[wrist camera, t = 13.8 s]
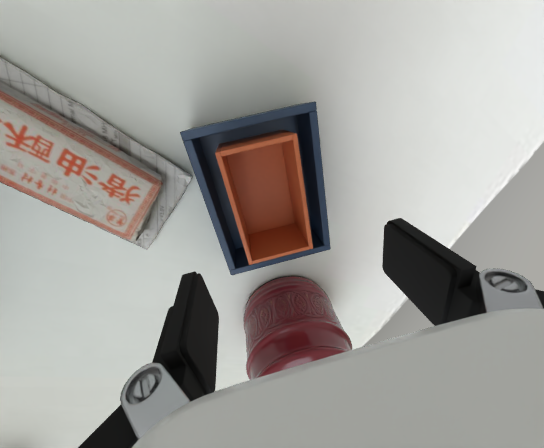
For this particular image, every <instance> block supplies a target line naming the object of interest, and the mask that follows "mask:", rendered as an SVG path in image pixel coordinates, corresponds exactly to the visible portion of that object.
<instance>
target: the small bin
mask: <svg viewBox="0 0 544 448" xmlns="http://www.w3.org/2000/svg"><path fill="white" fill-rule="evenodd" d="M215 154H216V158H217V161H218V164H219V168H220V171H221V174H222V177H223V181H224V184H225V187H226V190H227V194H228V197H229V200H230V204H231V207H232V210H233V213H234V217H235V220H236V223H237V227H238V230H239V233H240V236H241V240H242V243H243V246H244V250H245V253H246V256H247V259H248V263H249V265H251V264H255V263H259V262H263V261H267V260H271V259H274V258H278V257H282V256H286V255H290V254H293V253H297V252H301V251H305V250H309V249H313V244H312V237H311V230H310V223H309V216H308V209H307V201H306V194H305V187H304V180H303V173H302V166H301V159H300V152H299V145H298V137H297V134H296V133H292V132H289V131H286V130H277V131H273V132H269V133H264V134H260V135H256V136H251V137H247V138H243V139H238V140H234V141H230V142H225V143H221V144H219V145H218V148H217V150H216V152H215Z"/></svg>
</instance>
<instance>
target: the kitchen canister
mask: <svg viewBox="0 0 544 448" xmlns="http://www.w3.org/2000/svg"><path fill="white" fill-rule="evenodd" d="M244 330H245V334H246V346H247V364H246V370H247V375H248V377H249V379H250V380H252V379H255V378H259V377H262V376H265V375H269V374H272V373H275V372H279V371H282V370H285V369H289V368H292V367H295V366H299V365H302V364H306V363H309V362H312V361H316V360H319V359H323V358H326V357H329V356H333V355H336V354H340V353H343V352H347V351H350V350H352V344H351V340H350V338H349V336H348V335H347V334H346V332H345V331H344V330H343V328H342V326H341V324H340V322H339V320H338V318H337V316H336V314H335V312H334V310H333V308H332V304H331V302H330V300H329V298H328V296H327V295H326V293H325V292H324V291H323V290H322V289H321V288H320V287H319V286H318V285H317V284H316V283H315V282H313V281H311V280H309V279H306V278H303V277H294V276H291V277H282V278H278V279H275V280H272V281H270V282H268V283H266V284H264V285H263V286H261V287H260V288H259V289H257V290H256V291H255V292H254V293H253V295H252V296H251V297H250V299H249V300H248V302H247V305H246V309H245V314H244Z"/></svg>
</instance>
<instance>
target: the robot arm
mask: <svg viewBox="0 0 544 448" xmlns="http://www.w3.org/2000/svg"><path fill="white" fill-rule="evenodd" d="M383 270H384V272H385V274H386V275H387V276H388V277H389V278H390V279H391V280H392V281H393V282H394V283H395V284H396V285H397V286H398V287H399V288H400V290H401V291H402V292H403V293H404V294H405V295H406V296H407V297H408V298H409V299H410V300H411V301H412V302H413V303H414V304H415V305H416V306H417V307H418V309H419V310H420V311H421V312H422V313H423V314H424V315H425V316H426V317H427V318H428V319H429V320H430V321H431V322H432V323H433V324H434V325H435V326H434V327H430V328H427V329H423V330H420V331H416V332H413V333H409V334H406V335H402V336H398V337H395V338H391V339H388V340H385V341H381V342H378V343H374V344H371V345H367V346H364V347H360V348H357V349H353V350H350V351H347V352H343V353H340V354H336V355H333V356H329V357H326V358H323V359H319V360H316V361H312V362H309V363H306V364H302V365H299V366H295V367H292V368H289V369H285V370H282V371H279V372H275V373H272V374H269V375H265V376H262V377H259V378H255V379H252V380H249V381H246V382H243V383H240V384H236V385H233V386H230V387H227V388H224V389H221V390H218V391H215V383H216V363H217V344H218V324H219V316H218V312H217V309H216V307H215V305H214V303H213V300H212V298H211V296H210V294H209V291H208V289H207V287H206V285H205V282H204V280H203V278H202V276H201V274H197V273H196V272H191V273H188V274H184V275H182V278H181V281H180V285H179V288H178V292H177V295H176V299H175V303H174V306H172V307H170V308H169V310H168V313H167V316H166V319H165V323H164V326H163V329H162V333H161V336H160V339H159V342H158V346H157V349H156V352H155V356H154V359H153V362H152V363H150V364H147V365H145V366H143V367H141V368H140V369H138V370H137V371H136V372H135V373H134V374H133V375H132V376H131V377H130V378H129V379H128V381H127V382H126V384H125V385H124V387H123V390H122V392H121V397H120V401H121V405H120V406H119V407H118V408H117V409H116V410H115V411H114V412H113V413H112V414H111V415H110V416H109V417H108V418H107V419H106V420H105V421H104V422H103V423H102V424H101V425H100V426H99V427H98V428H97V429H96V430H95V431H94V432H93V433H92V434H91V435H90V436H89V437H88V438H87V439H86V440H85V441H84V442H83V443H82V444H81V445H80V446H79V447H78V448H544V291H539V290H535V288H534V286H533V285H532V283H531V282H530V281H529V280H527V279H526V278H525V277H523V276H521V275H519V274H517V273H514V272H512V271H508V270H504V269H495V268H493V269H486V270H483V271H482V272H481V273H479V272H478V271H476V266H475V265H473V264H472V263H470V262H469V261H467V260H465V259H464V258H462V257H461V256H459V255H458V254H456V253H454V252H453V251H451V250H450V249H448V248H447V247H445V246H444V245H442V244H441V243H439V242H437V241H436V240H434V239H433V238H431V237H430V236H428V235H427V234H425V233H423V232H422V231H420V230H419V229H417V228H416V227H414V226H413V225H411V224H409V223H408V222H406V221H405V220H403V219H401V218H398V219H394V220H391V221H388V222H387V225H385V227H384V245H383ZM214 391H215V392H214Z"/></svg>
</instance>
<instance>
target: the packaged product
mask: <svg viewBox="0 0 544 448" xmlns="http://www.w3.org/2000/svg"><path fill="white" fill-rule="evenodd" d="M191 178H192V175H190V174H188V173H187V172H185V171H184V170H182V169H180V168H179V167H177V166H176V165H174V164H173V163H171V162H169V161H168V160H166V159H165V158H163V157H161V156H160V155H158V154H157V153H155V152H153V151H151V150H149V149H147V148H145V147H143V146H142V145H140V144H139V143H137V142H136V141H134V140H133V139H131V138H130V137H128V136H126V135H125V134H123V133H122V132H120V131H119V130H117V129H116V128H114V127H113V126H111V125H109V124H108V123H106V122H105V121H104V120H102V119H101V118H99V117H98V116H97V115H95V114H94V113H93V112H91V111H90V110H88V109H87V108H86V107H84V106H83V105H81V104H79V103H77V102H75V101H73V100H71V99H69V98H67V97H65V96H63V95H61V94H59V93H57V92H55V91H53V90H52V89H50V88H49V87H47V86H46V85H45V84H43V83H42V82H40V81H39V80H37V79H36V78H34V77H33V76H31V75H30V74H28V73H26V72H25V71H23V70H21V69H19V68H18V67H16V66H14V65H13V64H11V63H9V62H7V61H6V60H4V59H2V58H1V57H0V182H1V183H3V184H5V185H7V186H10V187H12V188H15V189H17V190H18V191H20V192H23V193H25V194H27V195H29V196H32V197H34V198H36V199H39V200H40V201H42V202H44V203H46V204H48V205H51V206H54V207H56V208H58V209H60V210H62V211H64V212H66V213H68V214H71V215H73V216H75V217H77V218H79V219H82V220H84V221H86V222H88V223H91V224H93V225H95V226H97V227H99V228H101V229H103V230H105V231H107V232H109V233H111V234H114V235H116V236H118V237H120V238H122V239H125V240H127V241H129V242H131V243H134V244H136V245H138V246H140V247H142V248H144V249H148V248H149V247H150V245H151V244H152V242H153V241H154V240H155V238H156V237H157V235H158V233H159V231H160V229H161V227H162V226H163V224H164V223H165V221H166V220H167V218H168V217H169V215H170V214H171V213H172V211H173V210H174V208H175V206H176V205H177V203H178V202H179V200H180V198H181V197H182V195H183V194H184V192H185V190H186V188H187V186H188V184H189V182H190V180H191Z"/></svg>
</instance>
